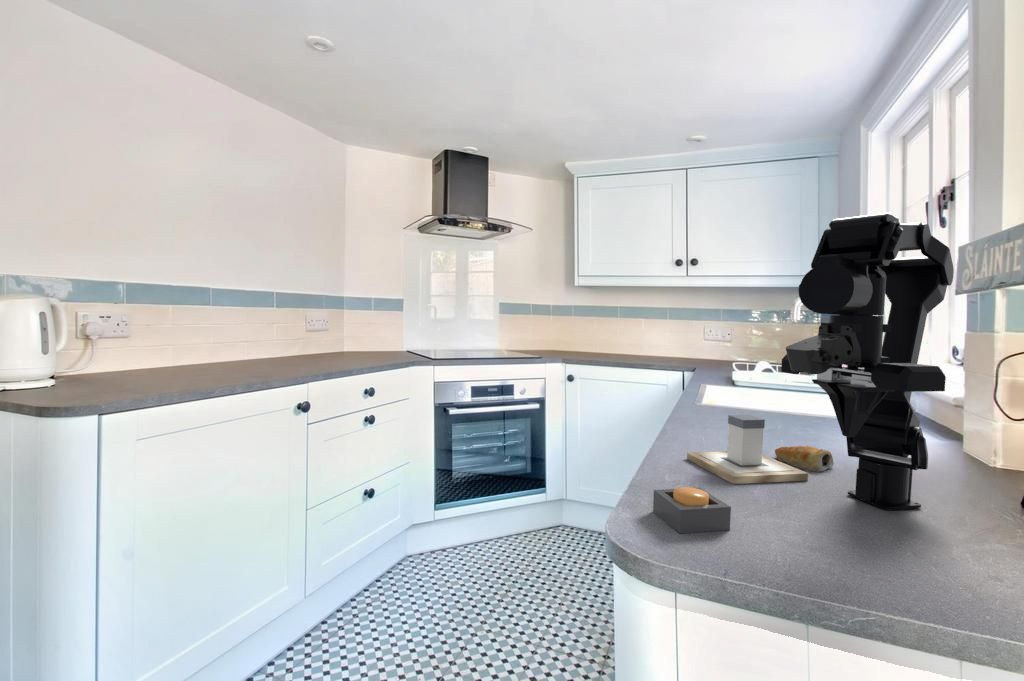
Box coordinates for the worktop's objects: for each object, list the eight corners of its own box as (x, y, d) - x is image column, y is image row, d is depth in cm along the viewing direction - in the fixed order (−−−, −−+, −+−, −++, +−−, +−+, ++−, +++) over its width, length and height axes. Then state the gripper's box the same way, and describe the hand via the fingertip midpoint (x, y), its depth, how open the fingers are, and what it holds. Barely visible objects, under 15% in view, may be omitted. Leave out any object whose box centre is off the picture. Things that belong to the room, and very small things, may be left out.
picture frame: (752, 456, 96) (752, 449, 96) (807, 480, 83) (808, 472, 83) (686, 458, 94) (687, 451, 94) (733, 484, 80) (733, 475, 80)
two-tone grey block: (746, 457, 91) (748, 414, 90) (762, 464, 87) (764, 419, 86) (726, 458, 90) (728, 415, 89) (741, 465, 86) (743, 420, 85)
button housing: (698, 508, 69) (699, 487, 69) (729, 529, 63) (731, 506, 62) (653, 511, 68) (653, 489, 68) (679, 533, 61) (680, 509, 61)
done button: (695, 503, 68) (696, 486, 68) (715, 516, 64) (715, 498, 63) (666, 505, 67) (667, 487, 67) (684, 518, 63) (684, 500, 63)
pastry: (767, 460, 95) (768, 441, 95) (785, 456, 98) (786, 437, 98) (819, 474, 87) (820, 453, 87) (837, 468, 91) (838, 448, 90)
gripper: (750, 313, 70) (745, 422, 71) (869, 314, 52) (860, 460, 53) (817, 315, 72) (812, 420, 73) (954, 316, 54) (944, 456, 55)
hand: (848, 436), depth 64 cm, fingers closed
